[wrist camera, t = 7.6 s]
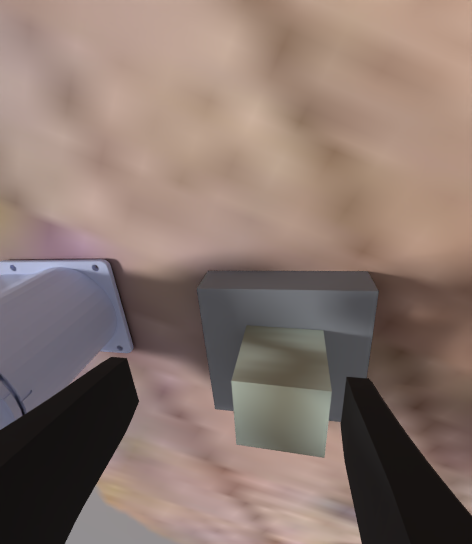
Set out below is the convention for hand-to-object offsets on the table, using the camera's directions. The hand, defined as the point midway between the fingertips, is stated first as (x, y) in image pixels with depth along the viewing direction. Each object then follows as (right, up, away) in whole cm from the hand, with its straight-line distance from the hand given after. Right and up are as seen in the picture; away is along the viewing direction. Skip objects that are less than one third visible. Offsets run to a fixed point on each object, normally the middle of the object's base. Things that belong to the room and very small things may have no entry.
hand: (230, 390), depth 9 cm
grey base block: (+4, 0, +11) cm, 12 cm away
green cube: (+3, -1, +9) cm, 9 cm away
